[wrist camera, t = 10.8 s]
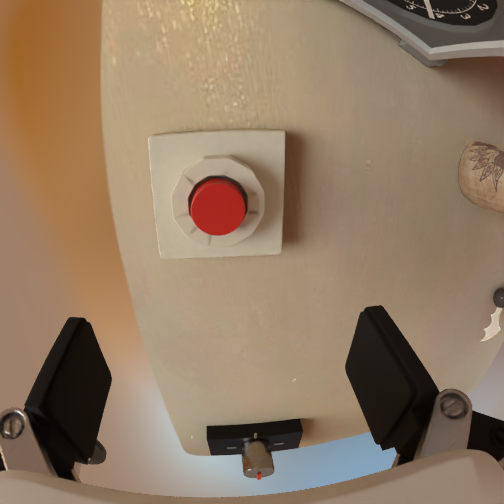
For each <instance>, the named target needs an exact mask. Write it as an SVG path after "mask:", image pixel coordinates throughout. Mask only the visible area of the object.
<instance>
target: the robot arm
mask: <svg viewBox="0 0 504 504" xmlns="http://www.w3.org/2000/svg"><path fill="white" fill-rule="evenodd" d="M345 369H346V373H347V376H348V378H349V381H350V383H351V385H352V388H353V390H354V392H355V395H356V397H357V399H358V402H359V404H360V407H361V409H362V411H363V414H364V416H365V419H366V421H367V424H368V426H369V429H370V431H371V434H372V436H373V438H374V441H375V443H376V444H378V445H379V444H380V446H381V448H382V451H383V450H386V449H389V448H393V447H395V450H396V452H397V455H396V458H395V460H394V463H393V465H392V467H391V468H390V469H388V470H384V471H381V472H378V473H374V474H370V475H367V476H363V477H360V478H356V479H353V480H349V481H344V482H340V483H335V484H331V485H326V486H321V487H316V488H311V489H305V490H300V491H292V492H285V493H278V494H268V495H258V496H247V497H246V496H245V497H221V498H195V497H173V496H159V495H149V494H141V493H133V492H126V491H119V490H113V489H108V488H103V487H97V486H93V485H88V484H83V483H81V481H80V479H79V472H80V467H81V463H82V464H88V461H89V460H90V459H91V458H92V456H93V454H94V449H95V445H96V440H97V436H98V432H99V427H100V423H101V419H102V416H103V412H104V408H105V404H106V400H107V397H108V393H109V389H110V386H111V381H112V377H111V373H110V370H109V368H108V366H107V364H106V361H105V359H104V357H103V354H102V352H101V349H100V347H99V344H98V342H97V339H96V336H95V334H94V331H93V328H92V326H91V324H90V323H89V322H87V321H86V319H85V318H78V317H70V318H68V320H67V321H66V323H65V325H64V327H63V329H62V330H61V332H60V334H59V336H58V338H57V339H56V341H55V343H54V345H53V347H52V349H51V351H50V352H49V355H48V356H47V358H46V360H45V362H44V364H43V366H42V368H41V370H40V372H39V374H38V376H37V379H36V381H35V383H34V385H33V387H32V389H31V391H30V394H29V396H28V398H27V400H26V403H25V408H24V410H21V409H19V408H9V409H6V410H5V411H3V412H2V413H1V414H0V504H504V421H502V420H499V419H496V418H493V417H490V416H487V415H484V414H481V413H478V412H475V411H473V410H472V404H471V401H470V399H469V398H468V397H467V396H466V395H465V394H464V393H463V392H461V391H459V390H457V389H445V390H443V391H441V392H439V390H438V389H437V386H436V384H435V383H434V381H433V380H432V378H431V377H430V375H429V373H428V372H427V370H426V369H425V367H424V366H423V364H422V363H421V361H420V360H419V358H418V357H417V355H416V354H415V352H414V351H413V349H412V348H411V346H410V345H409V343H408V342H407V340H406V339H405V337H404V336H403V334H402V333H401V331H400V330H399V329H398V327H397V326H396V324H395V323H394V321H393V320H392V319H391V317H390V316H389V314H388V313H387V312H386V310H385V309H384V307H383V306H381V305H379V306H371V307H366V308H365V309H364V311H363V312H361V313H360V315H359V319H358V323H357V327H356V330H355V334H354V337H353V341H352V344H351V348H350V351H349V354H348V358H347V361H346V365H345Z"/></svg>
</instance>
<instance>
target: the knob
mask: <svg viewBox="0 0 504 504" xmlns="http://www.w3.org/2000/svg"><path fill="white" fill-rule="evenodd" d="M241 453H242V462H243V472H244V476H246V477H249V478H257V479H258V480H259V479H261V477H266V476H269V475H271V474H273V473H274V465H273V459H272V454H271V448H270V443H269V442H267V441H265V440H252V441H248V442H245V443H244V444H242V446H241Z"/></svg>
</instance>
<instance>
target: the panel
mask: <svg viewBox="0 0 504 504" xmlns="http://www.w3.org/2000/svg"><path fill="white" fill-rule="evenodd" d="M302 433H303V429H302V425H301V421H300V419H293V420H285V421H277V422H268V423H257V424H244V425H227V426H207V442H208V445H209V449H210V453H211V455H236V454H242V453H241V446H242V444H244V443H245V442H248V441H252V440H265V441H267V442H269V443H270V448H271V451H280V450H288V449H295V448H298V447H299V444H300V440H301V437H302Z"/></svg>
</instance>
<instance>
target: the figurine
mask: <svg viewBox="0 0 504 504" xmlns="http://www.w3.org/2000/svg"><path fill="white" fill-rule="evenodd" d="M459 184H460V188H461V190H462V192H463V194H464V195H465V196H466V197H467V198H468V199H469V200H470V201H471V202H472V203H474V204H476V205H479V206H481V207H484V208H487V209H490V210H494V211H499V212H503V213H504V152H502V151H500V150H499V149H497V148H496V147H494V146H492V145H489V144H486V143H481V142H471V143H470V144H469V145H468V146H467V147H466V149H465V150H464V152H463V154H462V156H461V160H460V166H459Z"/></svg>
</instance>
